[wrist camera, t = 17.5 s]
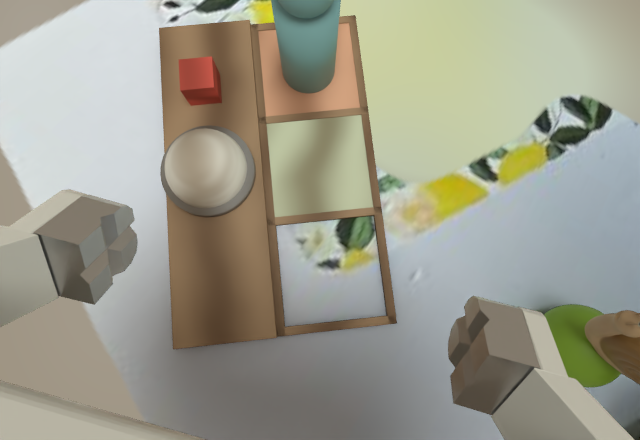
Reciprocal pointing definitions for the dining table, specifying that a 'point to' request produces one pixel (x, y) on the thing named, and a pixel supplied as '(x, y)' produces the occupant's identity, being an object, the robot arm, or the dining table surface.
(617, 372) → the snail figurine
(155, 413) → the dining table surface
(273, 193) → the game board
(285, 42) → the pawn
